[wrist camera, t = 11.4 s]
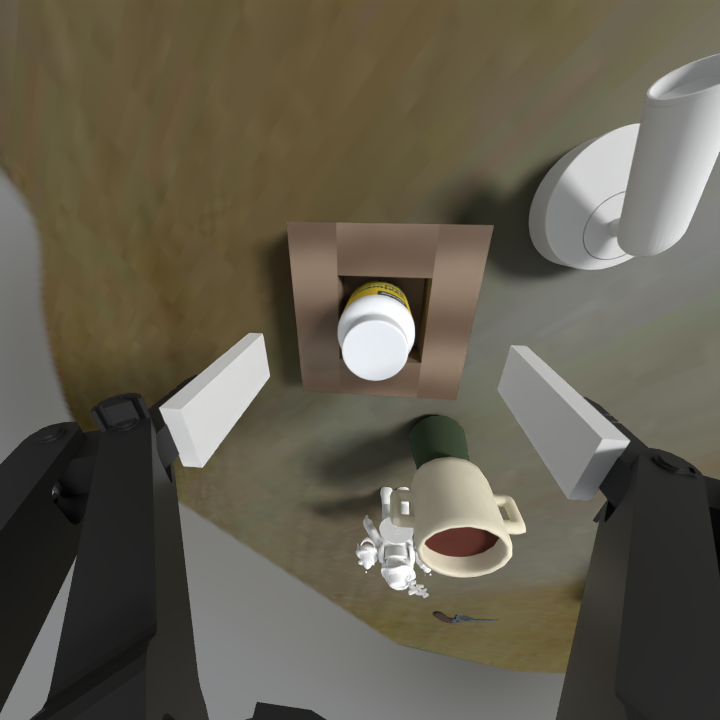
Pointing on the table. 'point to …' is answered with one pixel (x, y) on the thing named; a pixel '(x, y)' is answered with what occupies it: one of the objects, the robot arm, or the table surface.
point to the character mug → (453, 505)
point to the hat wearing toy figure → (392, 548)
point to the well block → (411, 274)
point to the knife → (457, 618)
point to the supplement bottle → (376, 330)
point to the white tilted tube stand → (633, 177)
